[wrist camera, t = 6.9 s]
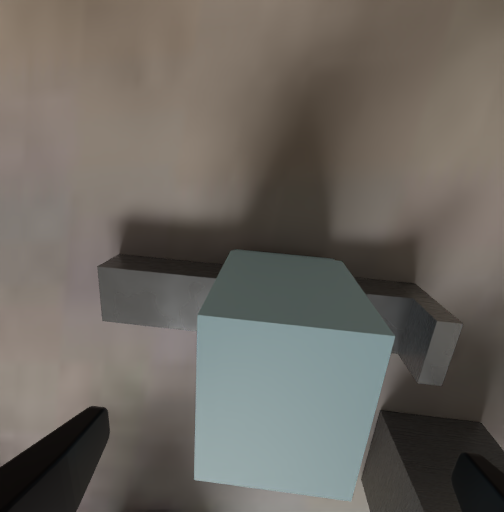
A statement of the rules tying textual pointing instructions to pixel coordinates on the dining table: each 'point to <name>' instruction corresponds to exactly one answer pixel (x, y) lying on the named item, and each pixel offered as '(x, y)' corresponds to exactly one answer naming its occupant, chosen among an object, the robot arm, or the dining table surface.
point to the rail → (204, 275)
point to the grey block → (287, 375)
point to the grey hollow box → (421, 461)
